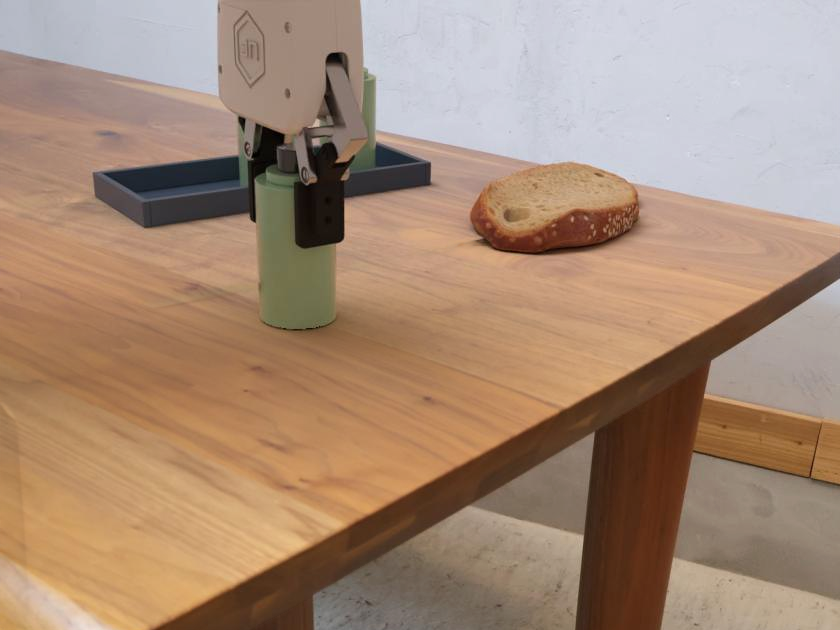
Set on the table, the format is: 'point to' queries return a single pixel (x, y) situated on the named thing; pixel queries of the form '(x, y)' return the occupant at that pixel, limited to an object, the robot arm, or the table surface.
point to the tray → (230, 186)
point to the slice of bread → (555, 208)
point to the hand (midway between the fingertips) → (296, 229)
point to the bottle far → (368, 151)
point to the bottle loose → (290, 254)
